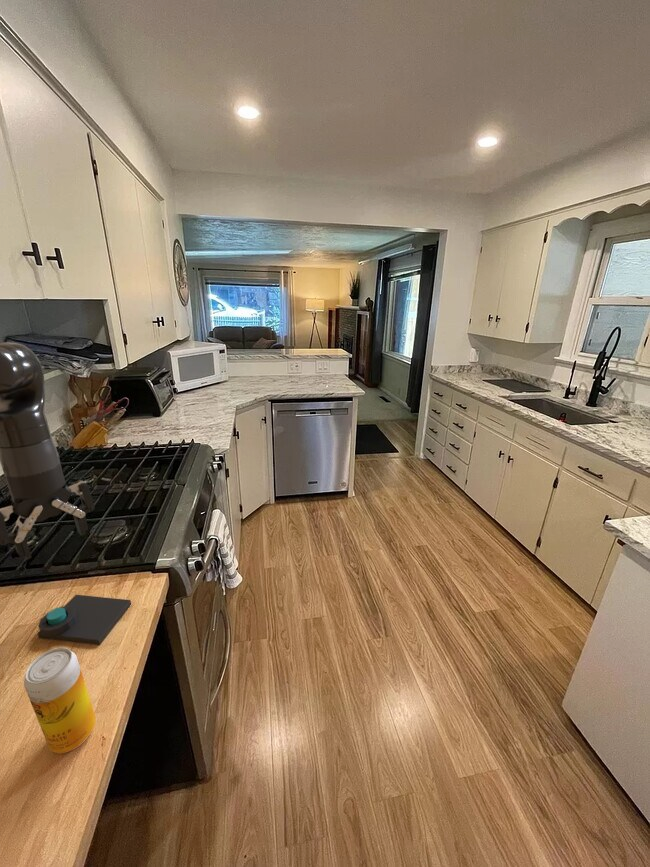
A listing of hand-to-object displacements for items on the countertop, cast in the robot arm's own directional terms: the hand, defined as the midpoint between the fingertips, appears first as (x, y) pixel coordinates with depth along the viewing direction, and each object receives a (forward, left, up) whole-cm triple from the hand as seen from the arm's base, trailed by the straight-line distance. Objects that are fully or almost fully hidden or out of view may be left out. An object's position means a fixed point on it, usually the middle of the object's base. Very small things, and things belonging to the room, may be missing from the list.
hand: (55, 544), depth 66 cm
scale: (0, +2, -21) cm, 21 cm away
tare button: (-4, -1, -18) cm, 19 cm away
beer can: (+13, -18, -21) cm, 30 cm away
